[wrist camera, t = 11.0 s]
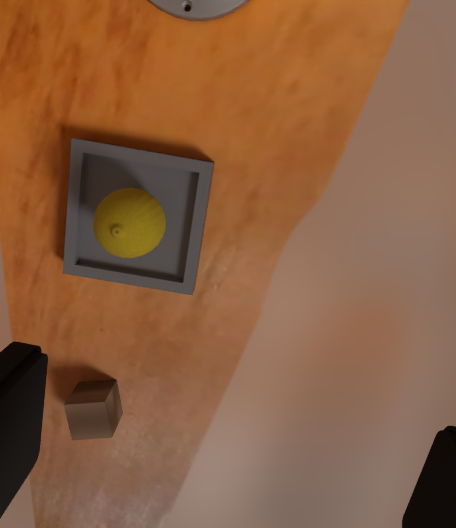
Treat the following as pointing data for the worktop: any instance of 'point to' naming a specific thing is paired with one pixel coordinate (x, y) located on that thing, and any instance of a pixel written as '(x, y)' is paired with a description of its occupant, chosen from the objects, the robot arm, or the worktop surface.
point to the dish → (158, 185)
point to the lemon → (129, 223)
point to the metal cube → (94, 410)
